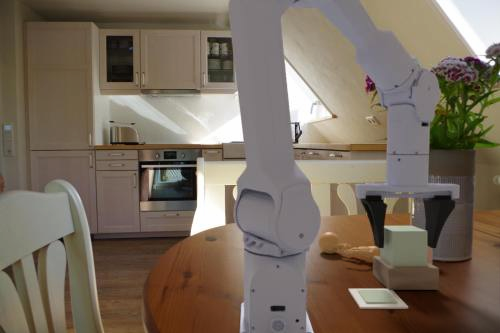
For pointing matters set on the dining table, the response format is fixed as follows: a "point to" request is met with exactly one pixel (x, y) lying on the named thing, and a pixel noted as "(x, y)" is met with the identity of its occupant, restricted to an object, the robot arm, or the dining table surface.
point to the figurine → (345, 246)
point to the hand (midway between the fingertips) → (404, 246)
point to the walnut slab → (406, 276)
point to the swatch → (377, 299)
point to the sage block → (404, 246)
